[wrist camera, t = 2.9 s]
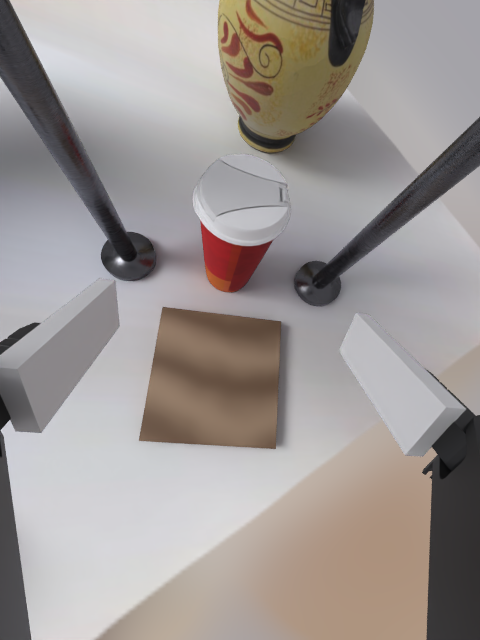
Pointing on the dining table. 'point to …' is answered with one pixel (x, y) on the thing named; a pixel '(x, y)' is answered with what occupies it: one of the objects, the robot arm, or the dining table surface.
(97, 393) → the dining table surface
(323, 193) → the dining table surface
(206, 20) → the dining table surface
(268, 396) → the walnut board
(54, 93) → the frame
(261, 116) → the amphora
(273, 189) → the paper cup
